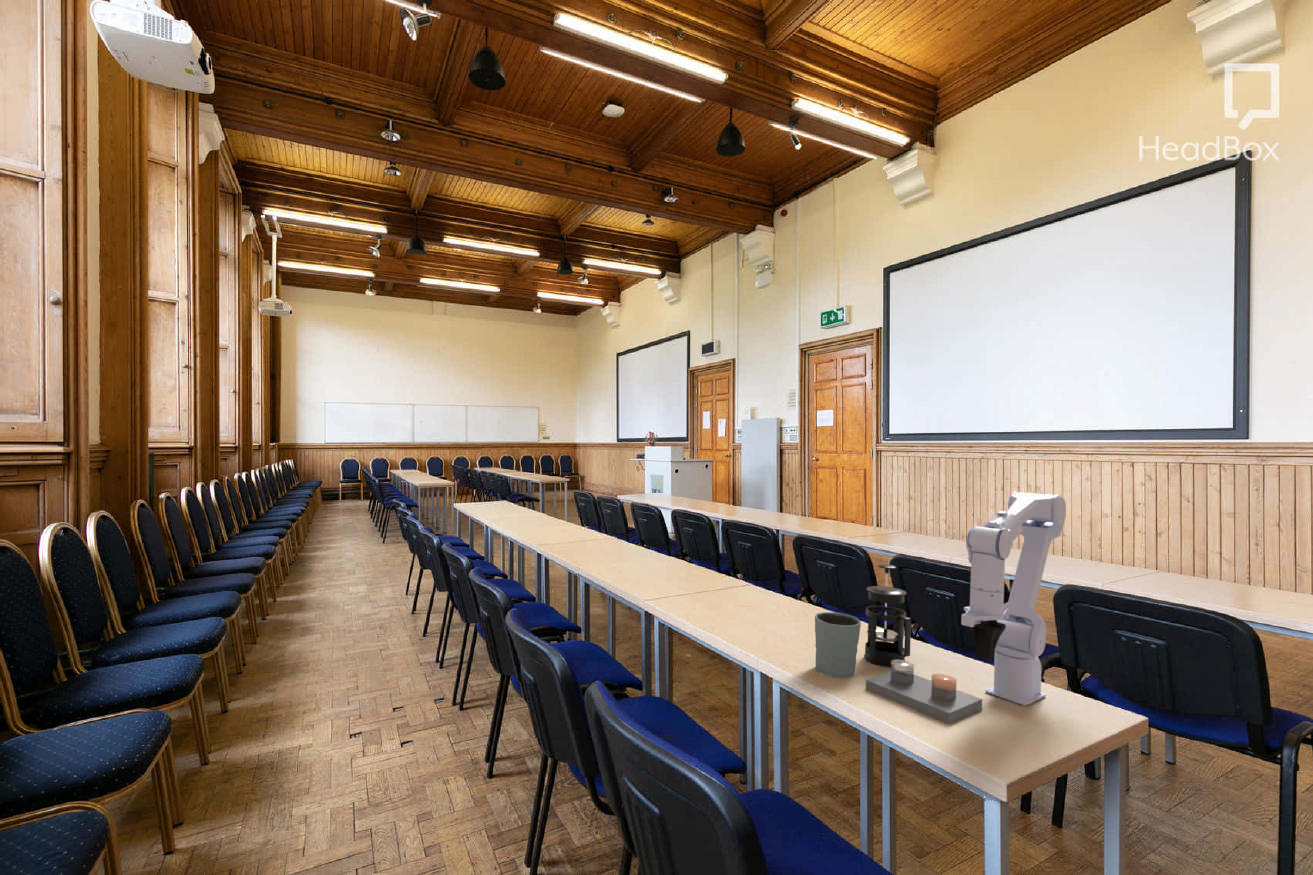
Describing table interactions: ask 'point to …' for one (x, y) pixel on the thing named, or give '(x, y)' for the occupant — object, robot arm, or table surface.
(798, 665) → the table surface
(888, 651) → the french press
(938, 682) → the peach knob
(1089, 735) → the table surface
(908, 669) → the steel plunger
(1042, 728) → the table surface
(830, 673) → the grey green cup
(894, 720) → the table surface
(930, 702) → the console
